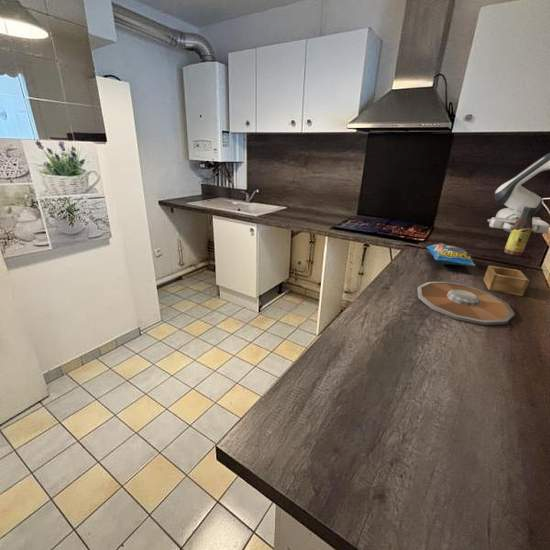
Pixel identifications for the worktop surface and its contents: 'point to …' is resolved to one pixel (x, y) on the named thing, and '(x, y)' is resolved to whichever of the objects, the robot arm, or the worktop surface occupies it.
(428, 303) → the shield
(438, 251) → the packet
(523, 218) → the sauce bottle
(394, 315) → the worktop surface
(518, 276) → the open wooden box
